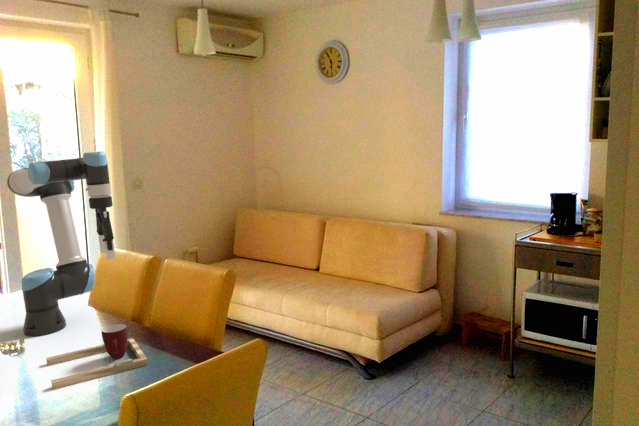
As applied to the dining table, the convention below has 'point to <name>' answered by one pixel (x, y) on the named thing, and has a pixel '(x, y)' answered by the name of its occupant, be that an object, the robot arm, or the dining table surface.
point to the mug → (115, 340)
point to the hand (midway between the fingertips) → (107, 255)
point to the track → (97, 372)
